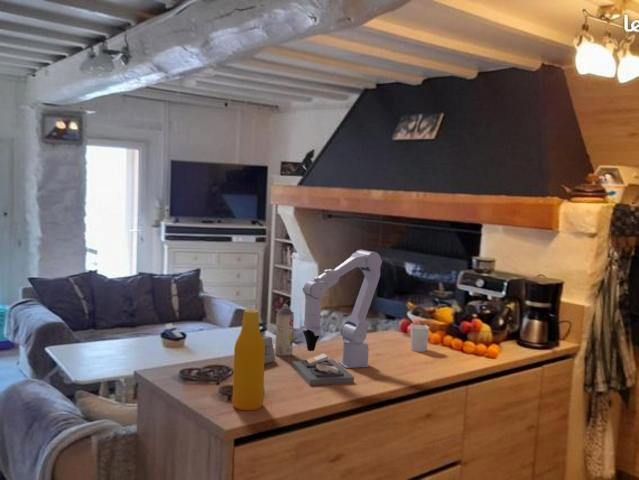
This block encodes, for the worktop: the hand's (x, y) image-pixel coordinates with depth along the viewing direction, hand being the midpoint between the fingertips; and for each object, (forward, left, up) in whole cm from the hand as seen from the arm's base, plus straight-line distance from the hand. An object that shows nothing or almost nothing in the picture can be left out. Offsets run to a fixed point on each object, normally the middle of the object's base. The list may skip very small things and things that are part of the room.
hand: (310, 350), depth 217 cm
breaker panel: (-3, +5, -7) cm, 9 cm away
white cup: (-55, -20, -8) cm, 59 cm away
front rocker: (-3, +11, -5) cm, 12 cm away
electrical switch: (+15, -13, -8) cm, 21 cm away
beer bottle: (+29, +30, -8) cm, 43 cm away
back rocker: (-3, 0, -5) cm, 6 cm away
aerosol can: (+4, -22, -8) cm, 24 cm away
